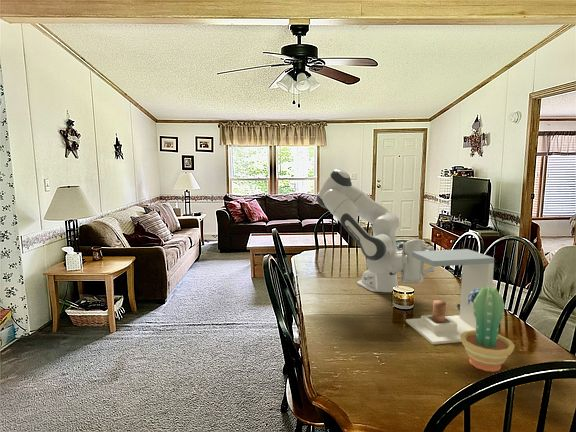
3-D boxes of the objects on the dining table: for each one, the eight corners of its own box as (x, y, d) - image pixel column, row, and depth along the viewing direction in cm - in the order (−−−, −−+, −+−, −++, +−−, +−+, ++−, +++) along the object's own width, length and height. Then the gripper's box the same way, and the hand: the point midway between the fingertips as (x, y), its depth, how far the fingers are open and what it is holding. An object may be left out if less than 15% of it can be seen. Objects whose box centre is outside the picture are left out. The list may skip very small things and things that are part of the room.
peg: (431, 327, 143) (432, 303, 142) (433, 323, 147) (434, 299, 145) (443, 330, 141) (445, 305, 139) (445, 325, 145) (446, 301, 143)
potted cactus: (494, 351, 126) (499, 280, 123) (524, 376, 111) (531, 296, 108) (450, 352, 126) (453, 281, 123) (474, 378, 111) (479, 297, 107)
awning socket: (405, 321, 151) (408, 249, 147) (459, 317, 155) (463, 247, 151) (432, 344, 132) (436, 262, 128) (492, 339, 135) (498, 259, 132)
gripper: (397, 280, 158) (431, 278, 150) (400, 239, 168) (431, 235, 160) (403, 286, 162) (435, 284, 154) (405, 246, 172) (435, 242, 164)
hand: (433, 259), depth 157 cm, fingers open, 8 cm apart
